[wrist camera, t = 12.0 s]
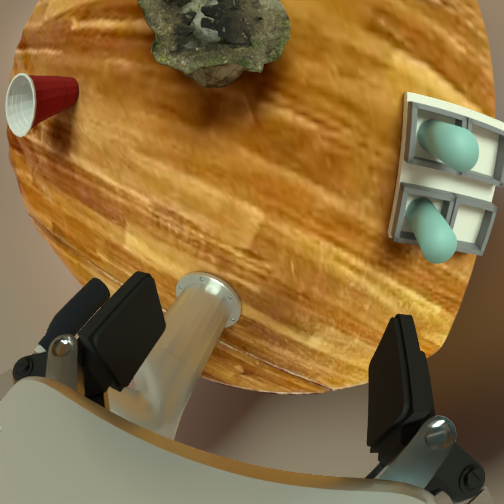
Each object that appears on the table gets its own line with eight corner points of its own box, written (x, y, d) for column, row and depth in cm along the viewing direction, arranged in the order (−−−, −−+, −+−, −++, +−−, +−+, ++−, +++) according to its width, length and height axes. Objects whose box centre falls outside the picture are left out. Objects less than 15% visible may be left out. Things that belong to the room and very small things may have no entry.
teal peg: (449, 123, 21) (481, 134, 15) (445, 156, 23) (475, 176, 17) (418, 115, 22) (445, 122, 16) (415, 149, 24) (439, 167, 18)
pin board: (472, 246, 28) (497, 287, 21) (387, 232, 32) (399, 275, 24) (498, 121, 19) (541, 135, 11) (404, 92, 22) (431, 90, 15)
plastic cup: (78, 129, 37) (24, 149, 27) (51, 107, 36) (2, 123, 26) (96, 75, 30) (36, 84, 21) (65, 58, 29) (12, 66, 20)
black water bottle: (93, 273, 57) (11, 358, 32) (112, 290, 57) (33, 382, 33) (90, 286, 60) (16, 366, 36) (107, 302, 61) (36, 387, 37)
